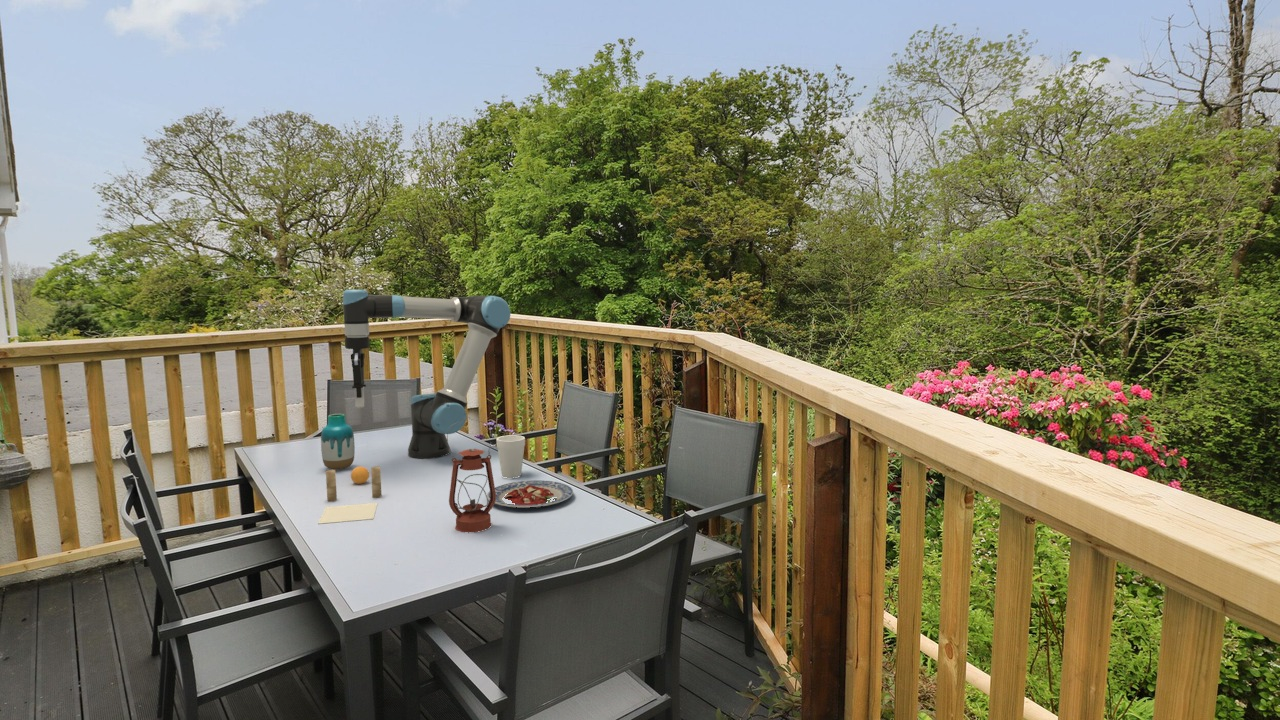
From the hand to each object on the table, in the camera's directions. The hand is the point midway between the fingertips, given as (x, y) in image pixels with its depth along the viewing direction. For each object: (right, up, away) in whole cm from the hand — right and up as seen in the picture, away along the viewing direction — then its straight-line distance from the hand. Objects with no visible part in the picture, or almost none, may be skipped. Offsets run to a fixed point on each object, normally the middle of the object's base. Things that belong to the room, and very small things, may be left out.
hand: (359, 406), depth 227 cm
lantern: (+49, -29, -45) cm, 72 cm away
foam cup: (+50, -24, +3) cm, 56 cm away
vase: (-12, -23, +11) cm, 28 cm away
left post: (+1, -26, -23) cm, 35 cm away
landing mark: (+11, -28, -35) cm, 46 cm away
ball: (+3, -22, -7) cm, 23 cm away
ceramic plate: (+60, -27, -21) cm, 69 cm away
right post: (+13, -26, -20) cm, 35 cm away
